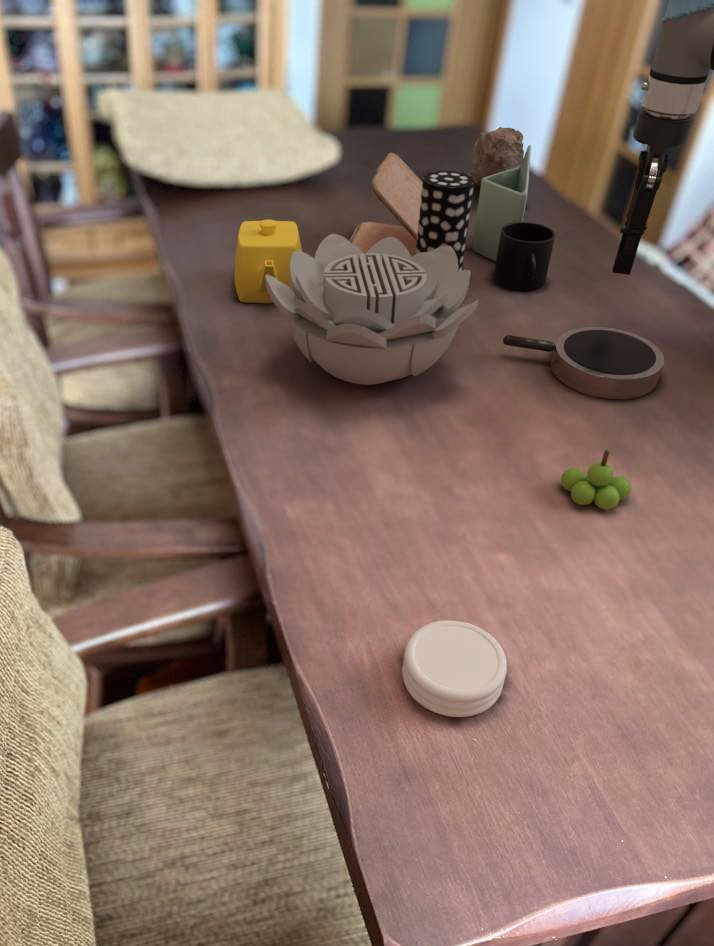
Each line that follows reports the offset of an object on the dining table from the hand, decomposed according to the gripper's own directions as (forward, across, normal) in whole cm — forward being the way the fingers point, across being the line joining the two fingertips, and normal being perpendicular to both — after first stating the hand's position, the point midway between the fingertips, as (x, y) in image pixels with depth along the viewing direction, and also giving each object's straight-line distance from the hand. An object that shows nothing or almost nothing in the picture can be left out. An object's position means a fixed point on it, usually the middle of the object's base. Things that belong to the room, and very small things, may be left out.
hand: (621, 271), depth 132 cm
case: (+11, -19, -40) cm, 45 cm away
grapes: (+10, +48, 0) cm, 49 cm away
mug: (+10, -13, -16) cm, 23 cm away
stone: (+11, -57, -26) cm, 64 cm away
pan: (+10, +15, -4) cm, 18 cm away
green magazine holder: (+10, -26, -23) cm, 36 cm away
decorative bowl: (+10, +25, -36) cm, 45 cm away
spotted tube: (+10, -3, -30) cm, 31 cm away
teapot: (+11, +5, -58) cm, 59 cm away
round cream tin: (+10, +82, -12) cm, 84 cm away
